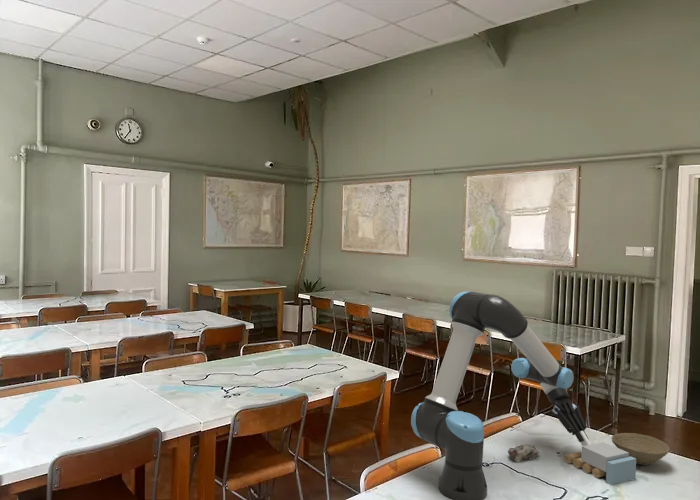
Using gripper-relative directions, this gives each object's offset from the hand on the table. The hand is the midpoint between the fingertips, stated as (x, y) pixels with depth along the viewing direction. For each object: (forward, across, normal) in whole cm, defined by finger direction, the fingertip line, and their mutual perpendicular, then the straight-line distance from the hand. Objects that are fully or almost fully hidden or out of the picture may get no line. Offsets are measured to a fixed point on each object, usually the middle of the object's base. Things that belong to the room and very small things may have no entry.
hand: (589, 449), depth 184 cm
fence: (+13, 0, +5) cm, 14 cm away
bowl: (+8, -20, 0) cm, 22 cm away
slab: (+6, 0, +3) cm, 7 cm away
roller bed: (+5, 0, -3) cm, 6 cm away
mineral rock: (-6, +17, -15) cm, 23 cm away
